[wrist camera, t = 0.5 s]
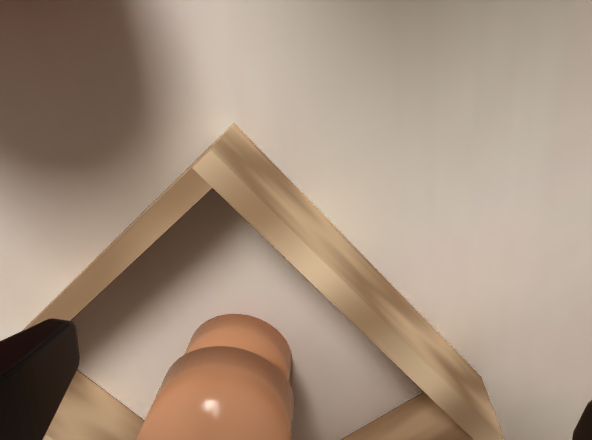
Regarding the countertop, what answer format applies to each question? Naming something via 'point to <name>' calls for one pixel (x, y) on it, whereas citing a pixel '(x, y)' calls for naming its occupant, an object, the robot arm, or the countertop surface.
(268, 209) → the open wooden tray
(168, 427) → the peach door knob
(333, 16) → the countertop surface
